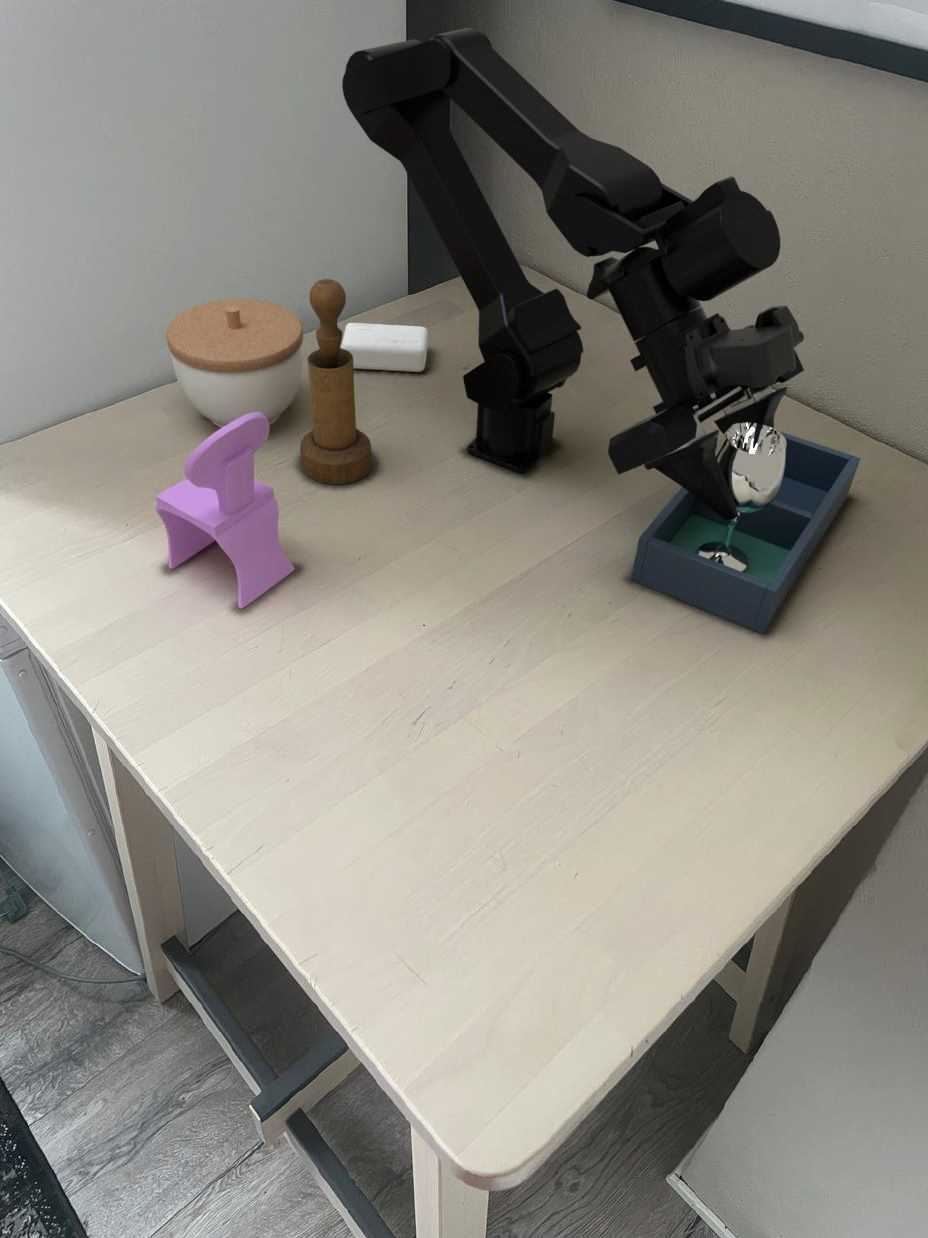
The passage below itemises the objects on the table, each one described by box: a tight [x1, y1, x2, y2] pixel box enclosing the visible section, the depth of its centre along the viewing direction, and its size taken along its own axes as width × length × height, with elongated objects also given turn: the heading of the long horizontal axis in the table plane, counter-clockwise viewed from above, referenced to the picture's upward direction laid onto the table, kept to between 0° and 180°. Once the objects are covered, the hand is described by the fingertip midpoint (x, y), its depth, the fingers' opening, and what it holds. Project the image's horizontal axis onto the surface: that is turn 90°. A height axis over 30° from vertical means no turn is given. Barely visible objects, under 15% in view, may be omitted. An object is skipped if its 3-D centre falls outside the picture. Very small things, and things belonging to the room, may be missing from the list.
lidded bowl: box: [165, 298, 304, 429], centre depth 99 cm, size 13×13×11 cm
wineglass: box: [696, 422, 786, 572], centre depth 83 cm, size 6×6×12 cm
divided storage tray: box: [630, 430, 862, 635], centre depth 89 cm, size 12×22×4 cm, turn 148°
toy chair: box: [155, 412, 296, 610], centre depth 80 cm, size 8×9×15 cm
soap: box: [340, 322, 429, 373], centre depth 111 cm, size 9×6×3 cm, turn 88°
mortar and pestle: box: [299, 278, 373, 485], centre depth 91 cm, size 7×6×18 cm
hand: (753, 503), depth 82 cm, fingers closed on wineglass, 5 cm apart
